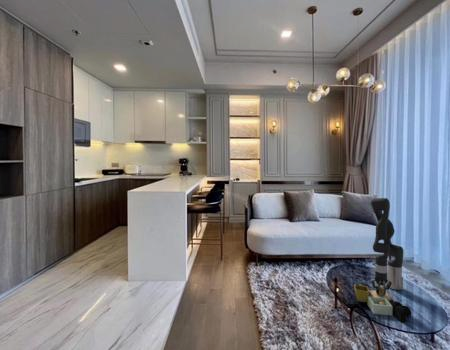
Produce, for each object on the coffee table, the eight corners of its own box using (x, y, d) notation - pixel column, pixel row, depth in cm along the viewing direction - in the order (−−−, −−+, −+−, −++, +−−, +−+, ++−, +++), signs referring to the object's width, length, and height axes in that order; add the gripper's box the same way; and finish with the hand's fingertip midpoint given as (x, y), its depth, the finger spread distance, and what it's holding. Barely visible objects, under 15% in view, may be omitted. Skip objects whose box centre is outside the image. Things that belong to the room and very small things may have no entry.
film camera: (417, 324, 151) (417, 309, 151) (400, 323, 152) (401, 308, 152) (401, 310, 167) (401, 296, 166) (386, 309, 167) (386, 296, 167)
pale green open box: (385, 306, 171) (385, 297, 171) (392, 315, 160) (392, 306, 160) (367, 304, 173) (367, 296, 173) (373, 313, 162) (373, 304, 162)
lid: (386, 294, 183) (386, 284, 183) (393, 302, 172) (393, 292, 172) (369, 292, 186) (369, 283, 186) (374, 300, 174) (375, 290, 174)
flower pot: (355, 302, 176) (355, 289, 176) (353, 296, 184) (354, 284, 184) (369, 304, 173) (369, 291, 173) (367, 298, 181) (367, 286, 181)
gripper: (389, 269, 181) (389, 293, 181) (368, 267, 184) (368, 291, 184) (394, 273, 173) (394, 298, 174) (372, 271, 176) (371, 296, 177)
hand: (380, 294), depth 179 cm, fingers closed on lid, 3 cm apart
